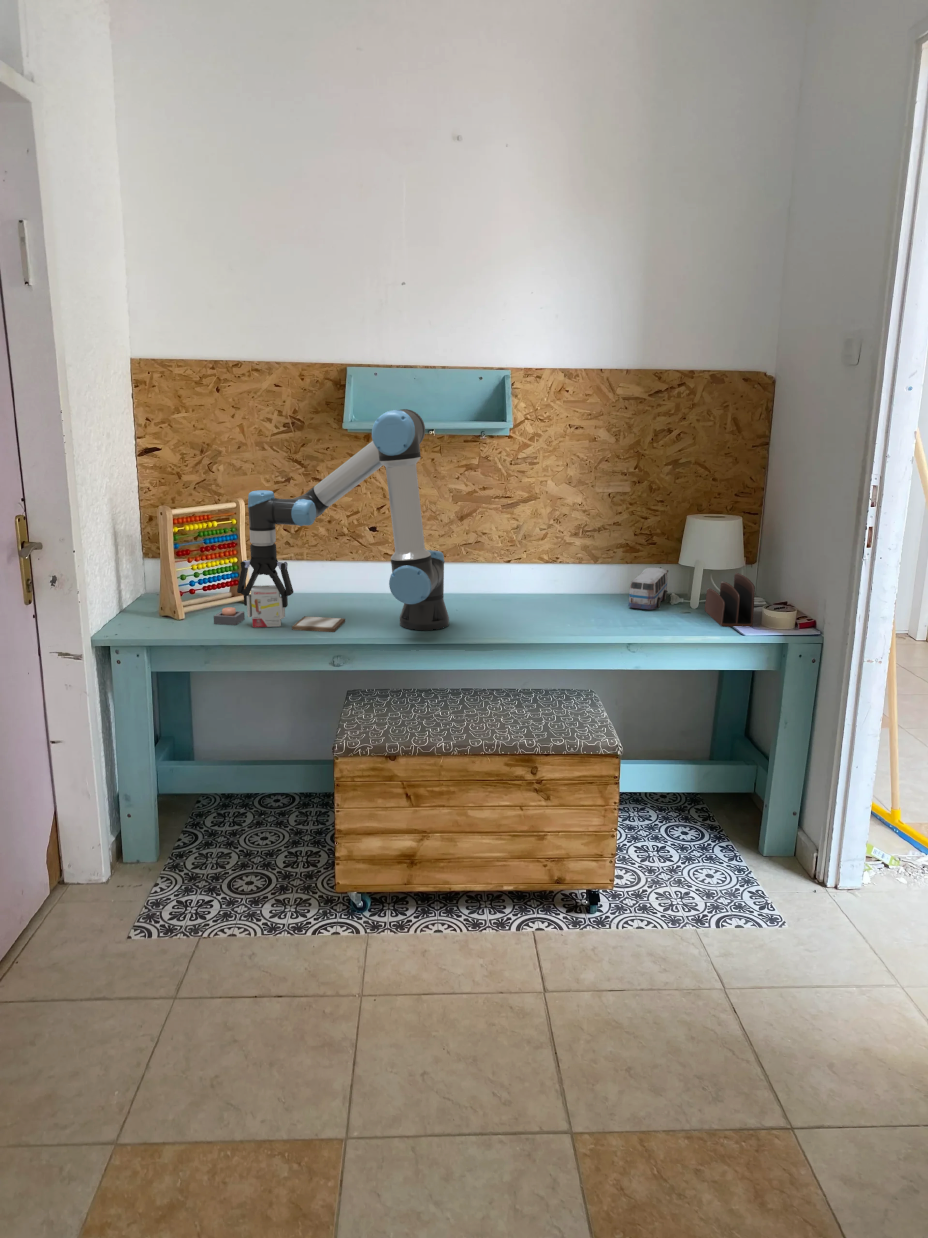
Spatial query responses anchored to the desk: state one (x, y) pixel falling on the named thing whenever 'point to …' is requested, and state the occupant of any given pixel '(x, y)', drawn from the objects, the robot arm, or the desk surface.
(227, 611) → the button
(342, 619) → the board
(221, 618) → the button base
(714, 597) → the letter holder
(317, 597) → the desk surface
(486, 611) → the desk surface
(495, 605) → the desk surface
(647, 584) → the toy bus
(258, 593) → the ink box
